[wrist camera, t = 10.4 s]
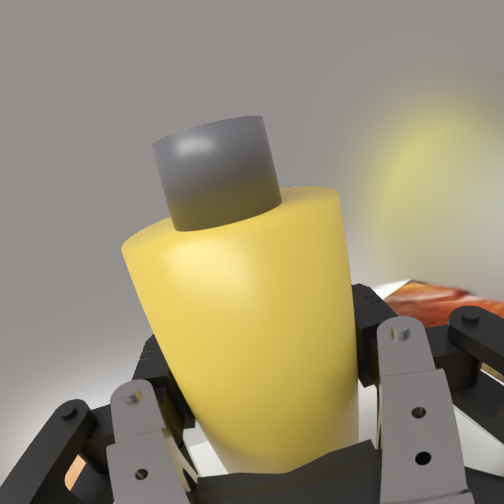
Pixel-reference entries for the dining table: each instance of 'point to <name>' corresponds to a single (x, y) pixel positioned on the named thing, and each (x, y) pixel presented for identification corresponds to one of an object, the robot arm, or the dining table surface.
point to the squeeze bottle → (250, 299)
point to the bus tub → (471, 438)
